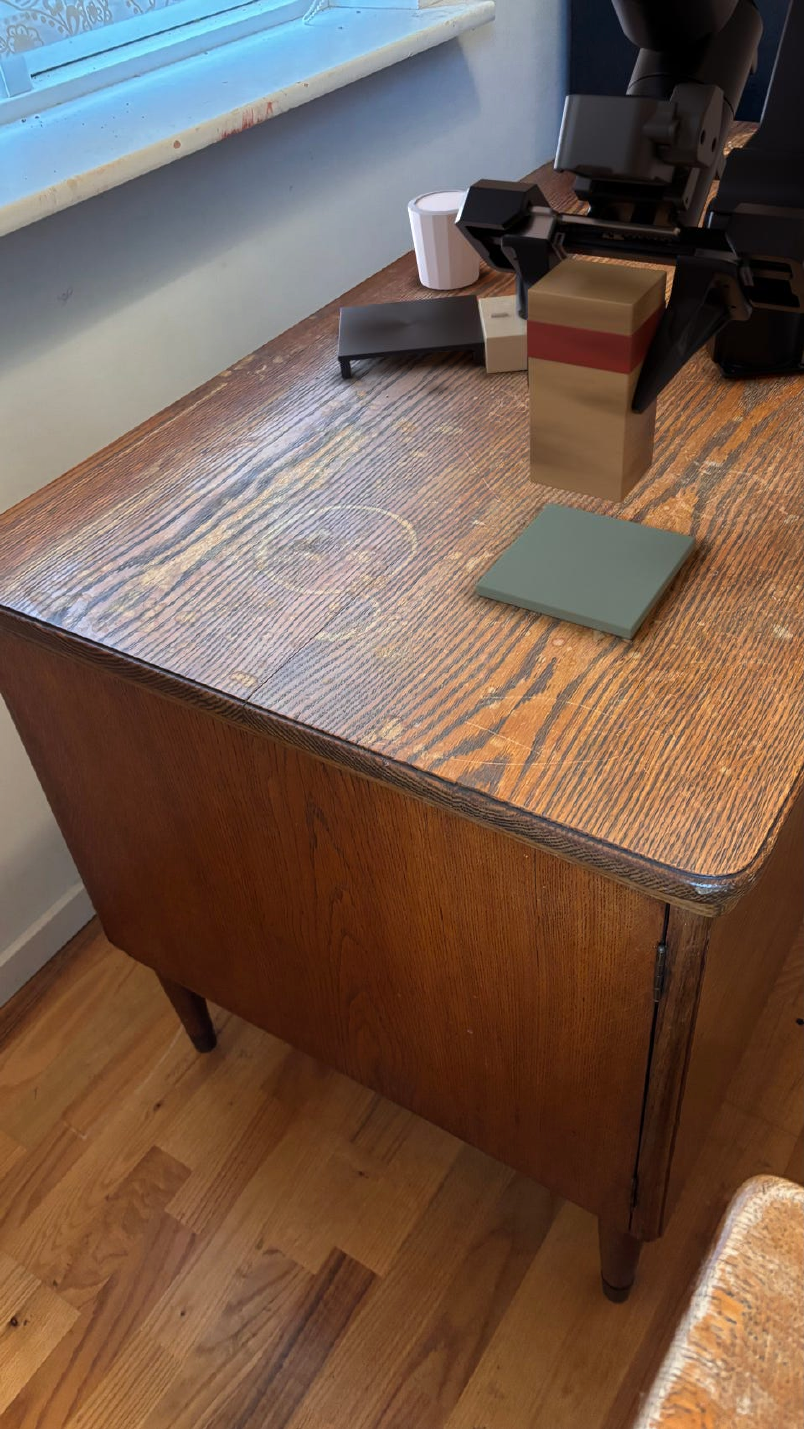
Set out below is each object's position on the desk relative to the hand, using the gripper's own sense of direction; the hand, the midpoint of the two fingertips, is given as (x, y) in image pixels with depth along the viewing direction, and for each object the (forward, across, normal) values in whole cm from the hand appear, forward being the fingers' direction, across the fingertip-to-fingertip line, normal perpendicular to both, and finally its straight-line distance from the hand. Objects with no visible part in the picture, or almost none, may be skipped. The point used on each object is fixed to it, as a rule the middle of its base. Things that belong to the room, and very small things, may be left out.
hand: (582, 401), depth 56 cm
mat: (+8, 0, +9) cm, 12 cm away
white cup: (-19, -32, +36) cm, 52 cm away
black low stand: (-9, -27, +26) cm, 39 cm away
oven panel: (-12, -17, +29) cm, 35 cm away
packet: (+3, 0, +4) cm, 5 cm away
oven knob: (-14, -17, +27) cm, 34 cm away
